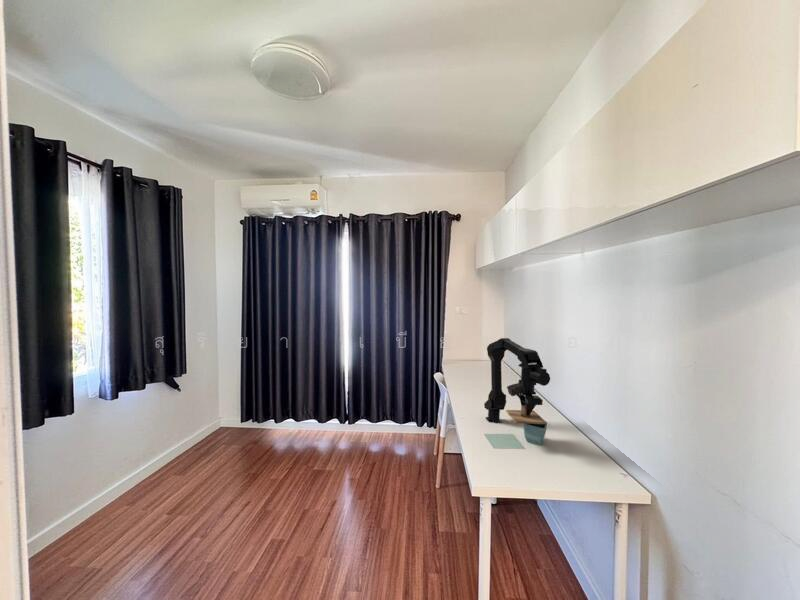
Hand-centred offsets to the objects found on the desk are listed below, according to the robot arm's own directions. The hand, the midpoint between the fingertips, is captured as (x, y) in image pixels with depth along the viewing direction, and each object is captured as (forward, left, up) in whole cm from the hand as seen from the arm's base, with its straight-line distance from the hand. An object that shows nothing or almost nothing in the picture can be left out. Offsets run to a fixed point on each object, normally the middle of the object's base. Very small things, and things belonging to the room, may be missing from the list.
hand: (525, 413), depth 151 cm
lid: (0, 0, -2) cm, 2 cm away
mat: (0, -9, -13) cm, 16 cm away
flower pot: (0, +5, -13) cm, 14 cm away
